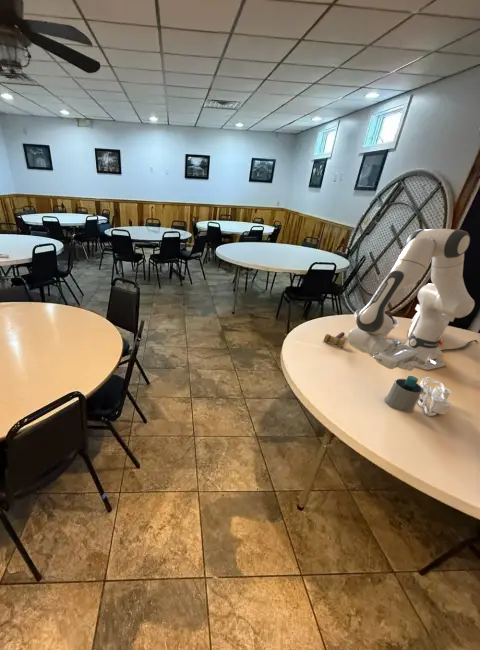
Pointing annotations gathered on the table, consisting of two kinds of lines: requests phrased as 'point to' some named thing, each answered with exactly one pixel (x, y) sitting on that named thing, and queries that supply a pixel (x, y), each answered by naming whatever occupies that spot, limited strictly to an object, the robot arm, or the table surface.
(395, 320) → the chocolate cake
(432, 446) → the table surface
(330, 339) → the gavel
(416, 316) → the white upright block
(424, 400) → the white cage
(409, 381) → the marker pen
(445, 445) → the table surface
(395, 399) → the pen pot
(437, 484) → the table surface
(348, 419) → the table surface
